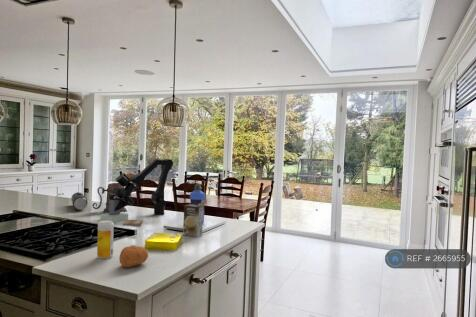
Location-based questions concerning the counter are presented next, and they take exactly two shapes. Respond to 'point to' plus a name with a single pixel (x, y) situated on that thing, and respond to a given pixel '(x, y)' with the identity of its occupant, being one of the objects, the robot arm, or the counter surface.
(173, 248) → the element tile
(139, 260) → the potato
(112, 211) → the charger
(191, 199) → the water bottle
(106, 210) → the tankard
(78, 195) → the muzzle brake
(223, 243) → the counter surface
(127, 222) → the pad
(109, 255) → the white yellow canister
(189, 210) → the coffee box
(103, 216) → the socket block
